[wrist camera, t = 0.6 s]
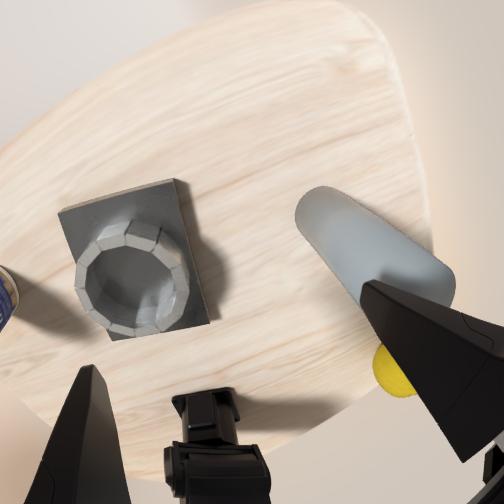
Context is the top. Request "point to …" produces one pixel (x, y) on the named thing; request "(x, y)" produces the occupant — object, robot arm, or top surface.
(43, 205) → the top surface
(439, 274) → the grey rounded cylinder
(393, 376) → the lemon
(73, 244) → the duct plate
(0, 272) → the pill bottle
